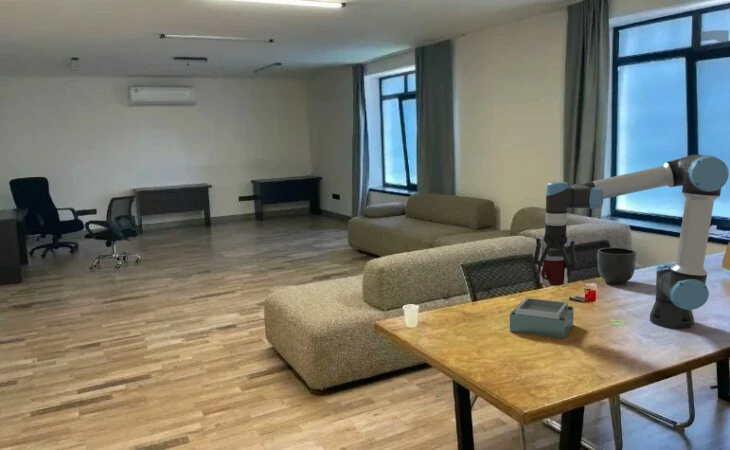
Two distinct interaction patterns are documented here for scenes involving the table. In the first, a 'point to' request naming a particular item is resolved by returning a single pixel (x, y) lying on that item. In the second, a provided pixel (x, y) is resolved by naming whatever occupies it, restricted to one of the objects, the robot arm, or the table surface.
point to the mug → (554, 270)
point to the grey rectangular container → (542, 318)
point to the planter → (616, 265)
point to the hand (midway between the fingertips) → (553, 283)
